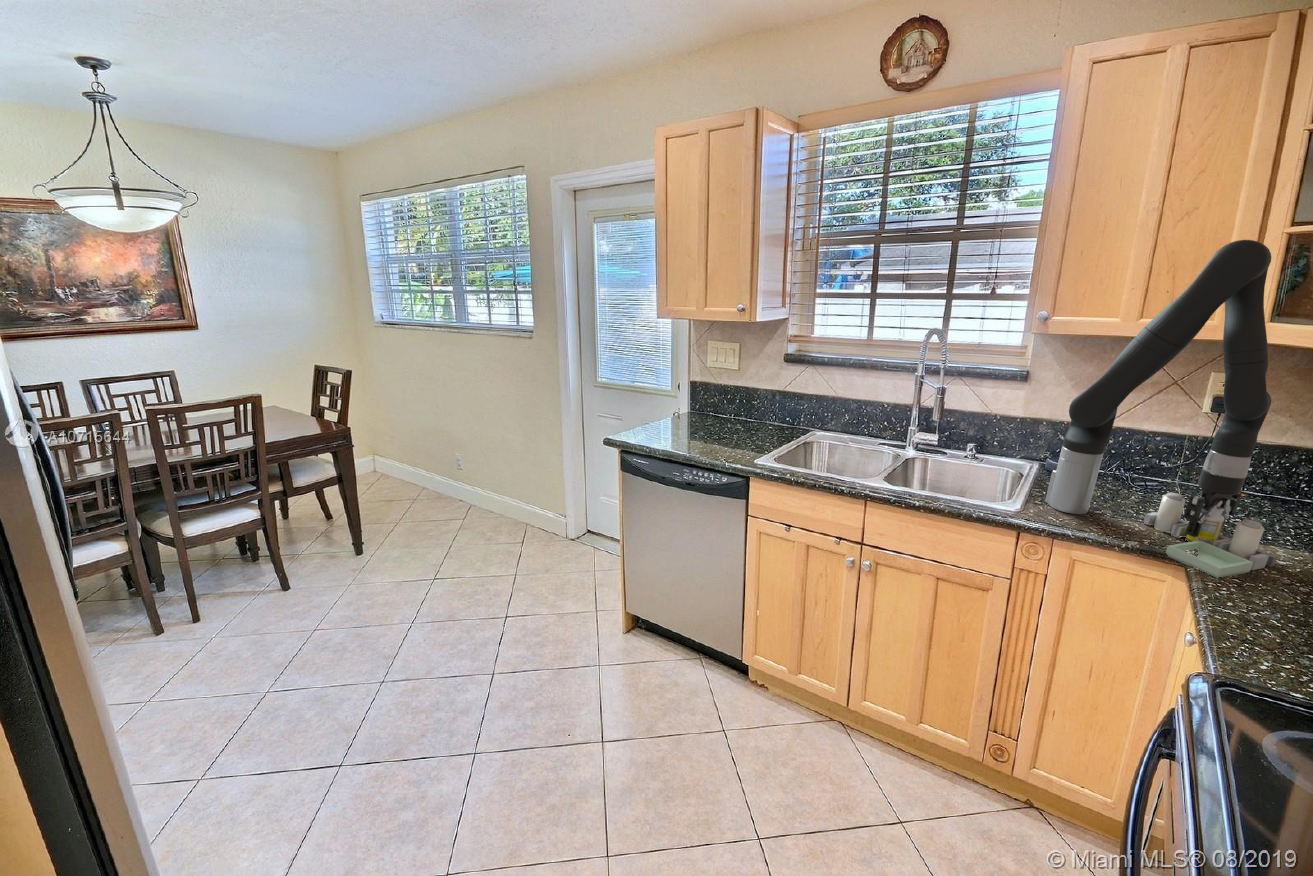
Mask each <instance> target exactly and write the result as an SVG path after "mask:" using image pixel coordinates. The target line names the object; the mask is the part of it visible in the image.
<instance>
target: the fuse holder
mask: <svg viewBox="0 0 1313 876" xmlns="http://www.w3.org/2000/svg"><path fill="white" fill-rule="evenodd" d="M1157 514H1158V511H1155V512H1148V513H1145V515H1144V519H1143V522H1144V523H1145V524H1148V525H1150V524H1154V523H1155V520H1156V517H1157ZM1188 524H1189V521H1186V520H1184V519H1181V518H1180V520H1179V523H1178V524H1175V525H1173V528H1172V531H1171V534H1173V535H1175V536H1186V535H1187V534H1186V530H1187V527H1188ZM1231 540H1232V537H1231V538H1230V537H1228V536H1226V535H1224V533H1223V532H1221V533H1220V534H1219V537H1218V540H1217V541H1214V542H1213V545H1212V546H1215V547H1217V548H1220V549H1222V550H1225V551H1228V548H1229V545H1230V543H1231ZM1278 558H1279V557H1278V556H1277V555H1274V554H1271V553H1270V552H1269V553H1268V552H1267V551H1264V550H1262V549H1258V548H1257V550H1256V553H1255V555H1252V556H1250V559H1249V561H1252V562H1253V565H1252V567H1251V570H1250V571H1255V570H1260V569H1264V568H1266V566H1267V567H1269V568H1271V567H1275V565H1276V563H1277V559H1278Z"/></svg>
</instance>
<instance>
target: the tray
mask: <svg viewBox="0 0 1313 876" xmlns="http://www.w3.org/2000/svg"><path fill="white" fill-rule="evenodd" d="M1194 549H1199V551H1198V552H1196V553H1195V554H1198V556H1197V557H1196V556H1194V555H1192V554H1189V553H1187V552H1185V551H1186V550H1194ZM1165 553H1167V555H1168V556H1167V557H1168V558H1170V559H1173V560H1174V561H1177V562H1179V563H1182V564H1183V565H1186V566H1187V567H1190V566H1192V567H1195V568H1198V569H1199V570H1200V571H1199V570H1198V571H1199V572H1201V571H1202V573H1203V572H1205V573H1207V574H1206V575H1208V576H1210V575H1211V576H1210V577H1212V576H1213V578H1214V577H1216V578H1215V579H1220V578H1219V577H1222V578H1227V577H1231V576H1237V575H1242V574H1247V573H1250V571H1252V570H1251V567H1252V565H1253V562H1252V561H1249V560H1247V559H1244V558H1242V557H1239V556H1237V555H1235V554H1232V553H1230V552H1227V551H1225V550H1222V549H1220V548H1217V547H1215V546H1212V545H1210V544H1208V543H1205V542H1203V541H1200V540H1198V541H1193V542H1182V543H1176V544H1171V545H1167V548H1166V550H1165ZM1192 567H1191V568H1192ZM1205 573H1204V574H1205ZM1226 576H1227V577H1226Z"/></svg>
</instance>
